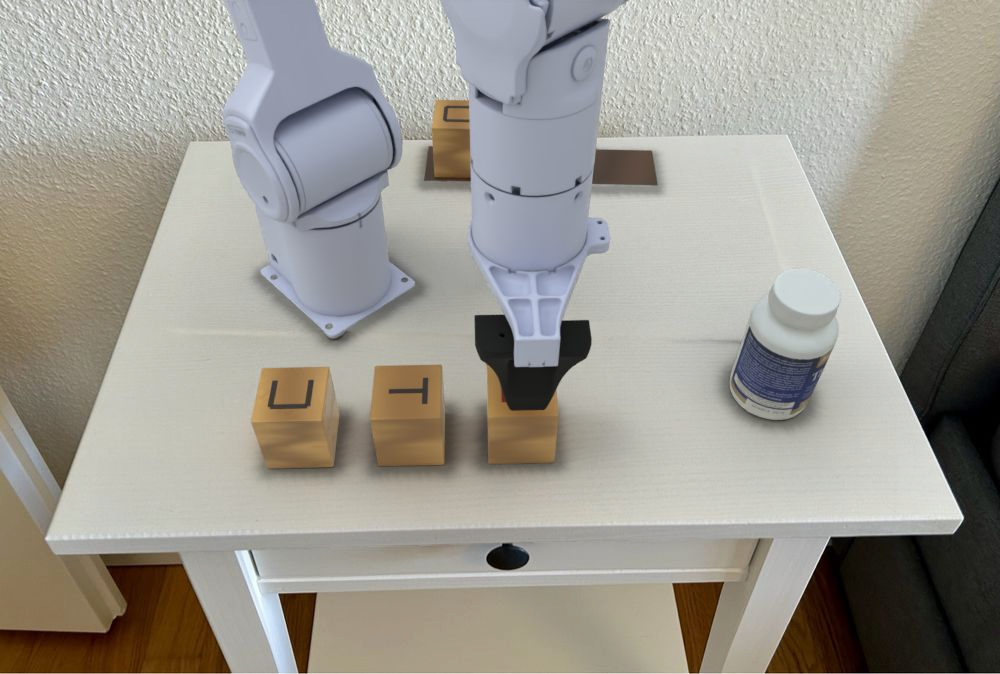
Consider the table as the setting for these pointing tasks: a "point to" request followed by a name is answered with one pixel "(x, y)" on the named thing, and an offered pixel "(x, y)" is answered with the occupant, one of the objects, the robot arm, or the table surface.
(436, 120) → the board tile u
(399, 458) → the tile
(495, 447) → the wooden letter cube
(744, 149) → the table surface
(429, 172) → the word board
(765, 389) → the pill bottle
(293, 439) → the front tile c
